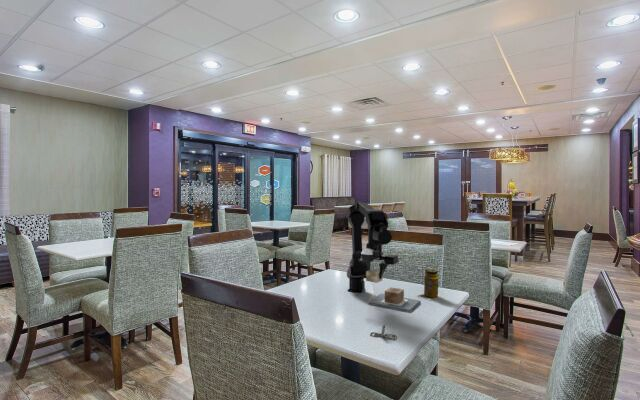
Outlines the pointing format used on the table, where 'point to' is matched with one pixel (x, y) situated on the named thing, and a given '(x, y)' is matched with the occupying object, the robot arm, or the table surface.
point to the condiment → (430, 285)
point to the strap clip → (387, 336)
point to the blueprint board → (405, 305)
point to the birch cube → (373, 276)
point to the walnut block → (394, 295)
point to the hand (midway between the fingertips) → (374, 278)
